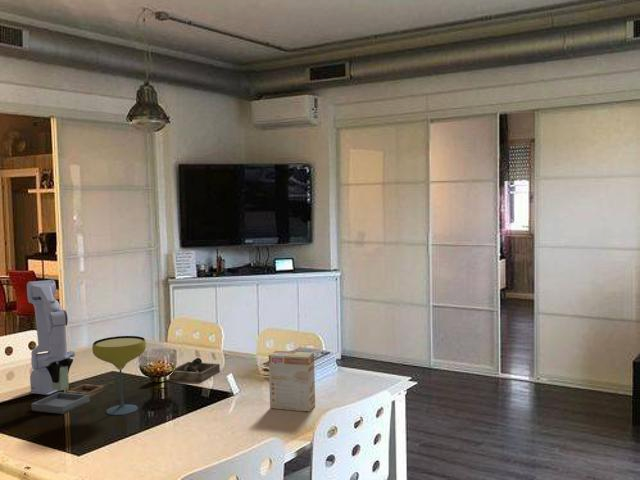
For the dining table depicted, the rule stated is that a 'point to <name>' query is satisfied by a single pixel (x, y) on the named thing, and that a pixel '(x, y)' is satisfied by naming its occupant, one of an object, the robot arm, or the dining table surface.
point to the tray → (60, 402)
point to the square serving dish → (206, 373)
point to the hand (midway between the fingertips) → (60, 380)
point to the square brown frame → (87, 386)
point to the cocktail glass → (119, 361)
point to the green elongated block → (62, 379)
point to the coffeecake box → (292, 380)
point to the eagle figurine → (193, 365)
